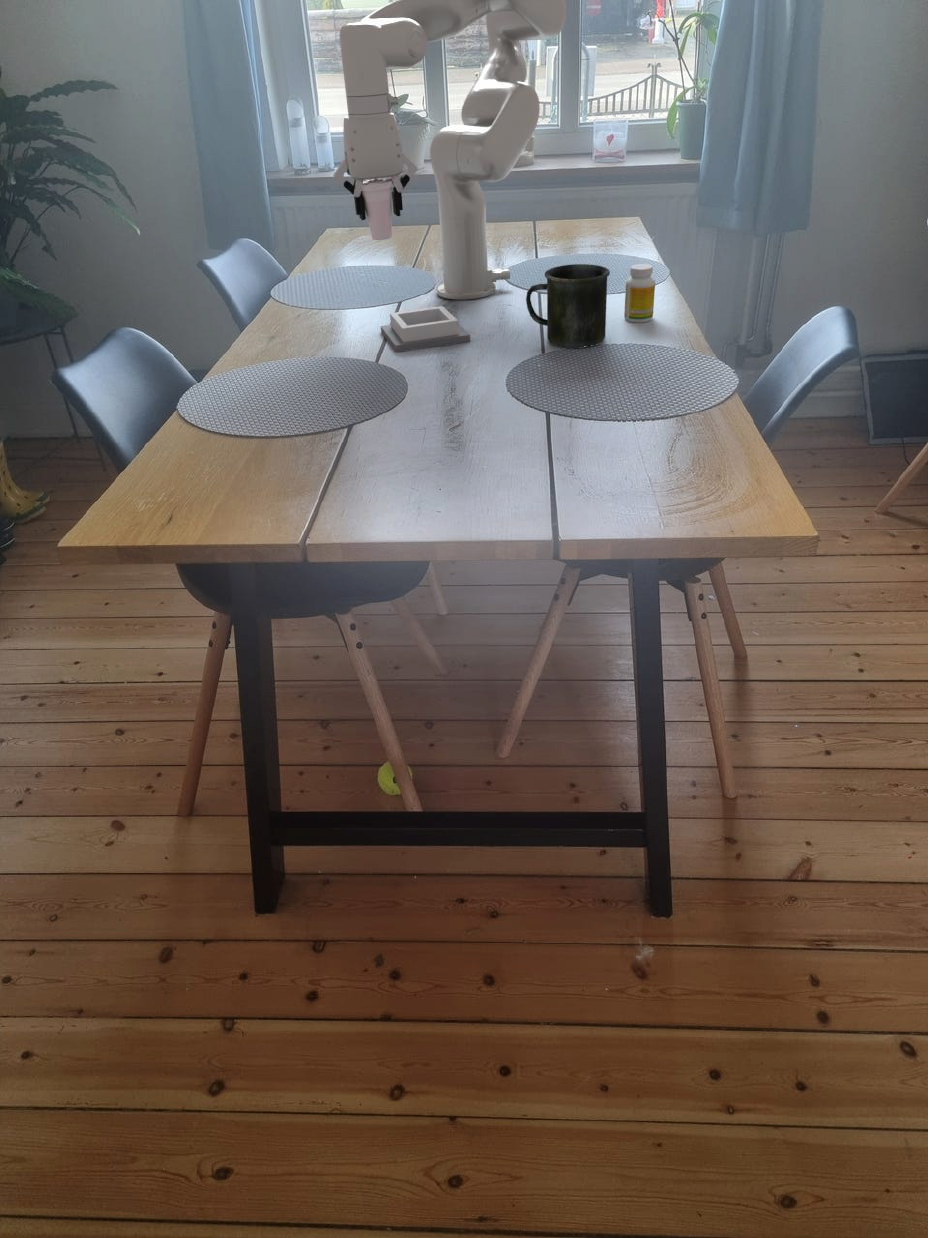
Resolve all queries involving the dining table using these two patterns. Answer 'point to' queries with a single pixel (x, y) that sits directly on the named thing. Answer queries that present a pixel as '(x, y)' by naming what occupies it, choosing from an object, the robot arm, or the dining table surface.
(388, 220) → the smoothie
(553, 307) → the mug
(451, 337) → the dock
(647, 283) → the supplement bottle
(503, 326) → the dining table surface
